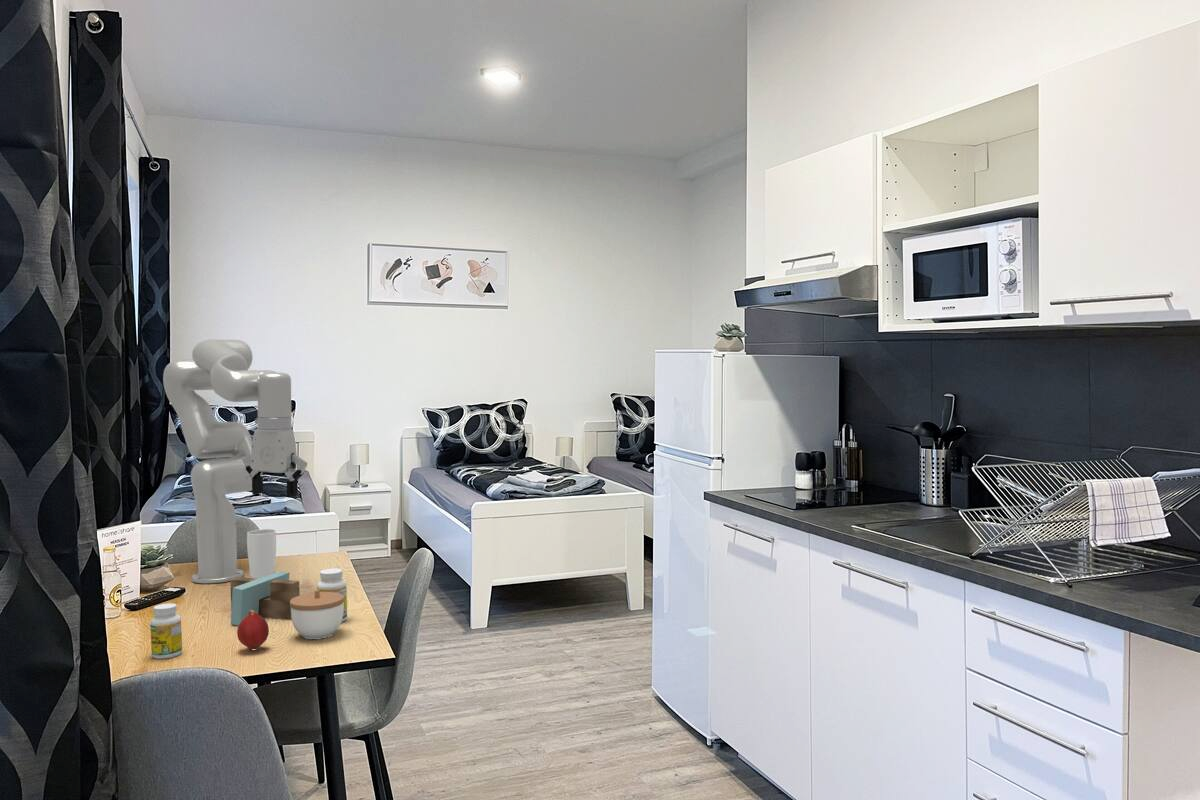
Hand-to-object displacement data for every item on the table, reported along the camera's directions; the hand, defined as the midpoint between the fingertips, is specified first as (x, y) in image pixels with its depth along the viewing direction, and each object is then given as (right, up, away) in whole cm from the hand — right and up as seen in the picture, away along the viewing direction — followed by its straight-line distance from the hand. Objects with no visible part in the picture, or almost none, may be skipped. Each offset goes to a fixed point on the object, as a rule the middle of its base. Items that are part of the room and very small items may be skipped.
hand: (274, 495), depth 212 cm
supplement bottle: (-6, -27, -40) cm, 49 cm away
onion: (+10, -27, -38) cm, 48 cm away
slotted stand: (+3, -26, -14) cm, 29 cm away
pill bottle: (+20, -26, -19) cm, 37 cm away
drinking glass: (-6, -25, +7) cm, 26 cm away
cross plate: (+2, -25, -14) cm, 29 cm away
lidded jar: (+20, -26, -29) cm, 44 cm away
